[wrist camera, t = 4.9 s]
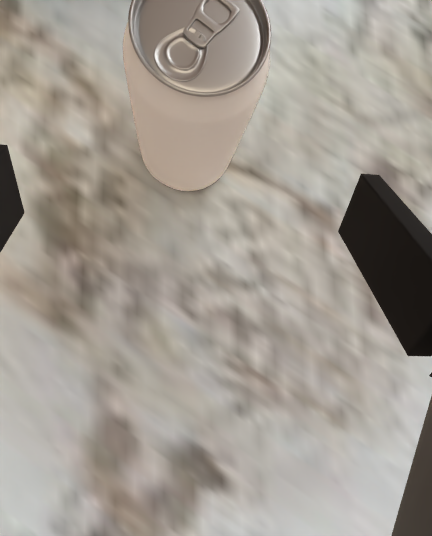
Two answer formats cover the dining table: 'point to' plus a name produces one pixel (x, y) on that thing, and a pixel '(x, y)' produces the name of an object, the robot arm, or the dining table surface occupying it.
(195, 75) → the can
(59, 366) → the dining table surface
